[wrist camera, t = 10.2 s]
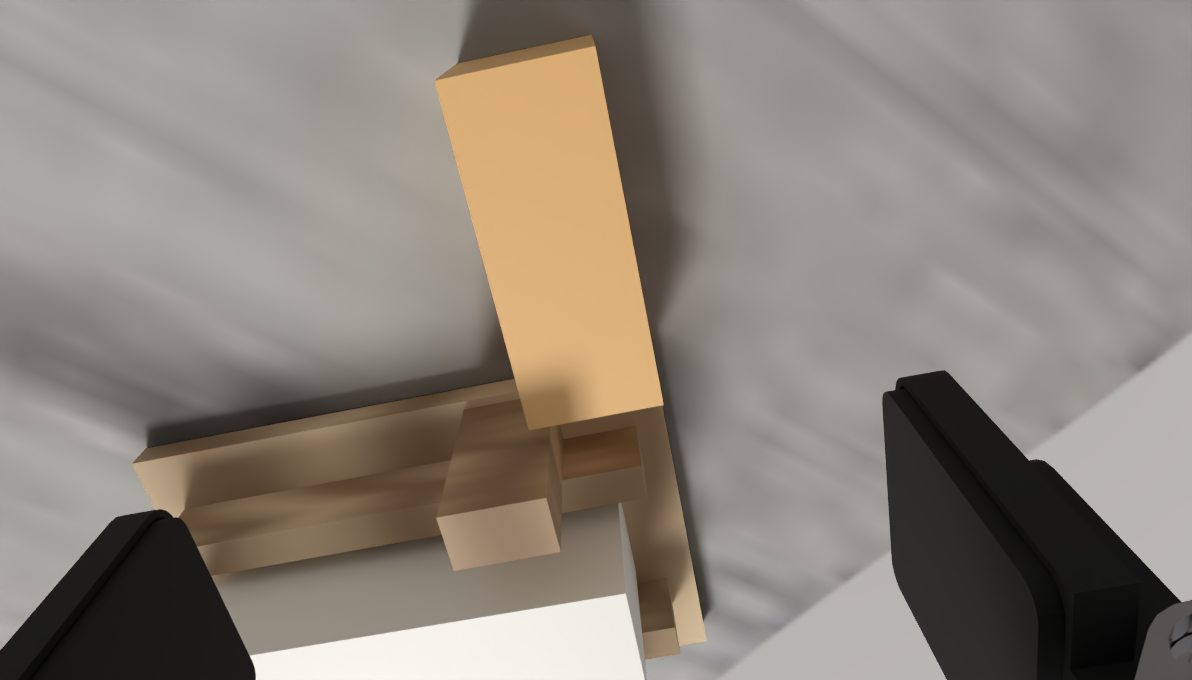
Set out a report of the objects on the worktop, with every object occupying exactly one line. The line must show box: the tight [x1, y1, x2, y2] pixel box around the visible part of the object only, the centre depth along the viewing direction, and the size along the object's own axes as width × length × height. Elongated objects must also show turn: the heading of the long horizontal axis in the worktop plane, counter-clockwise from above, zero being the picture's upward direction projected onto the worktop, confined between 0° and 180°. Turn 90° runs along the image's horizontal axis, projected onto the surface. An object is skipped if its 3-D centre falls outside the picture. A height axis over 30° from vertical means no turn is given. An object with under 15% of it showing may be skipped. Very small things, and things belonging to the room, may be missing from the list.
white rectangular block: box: [212, 503, 647, 680], centre depth 27 cm, size 14×4×6 cm, turn 101°
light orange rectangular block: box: [435, 35, 664, 430], centre depth 24 cm, size 4×10×4 cm, turn 11°
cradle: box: [132, 379, 707, 659], centre depth 28 cm, size 18×12×7 cm, turn 101°
